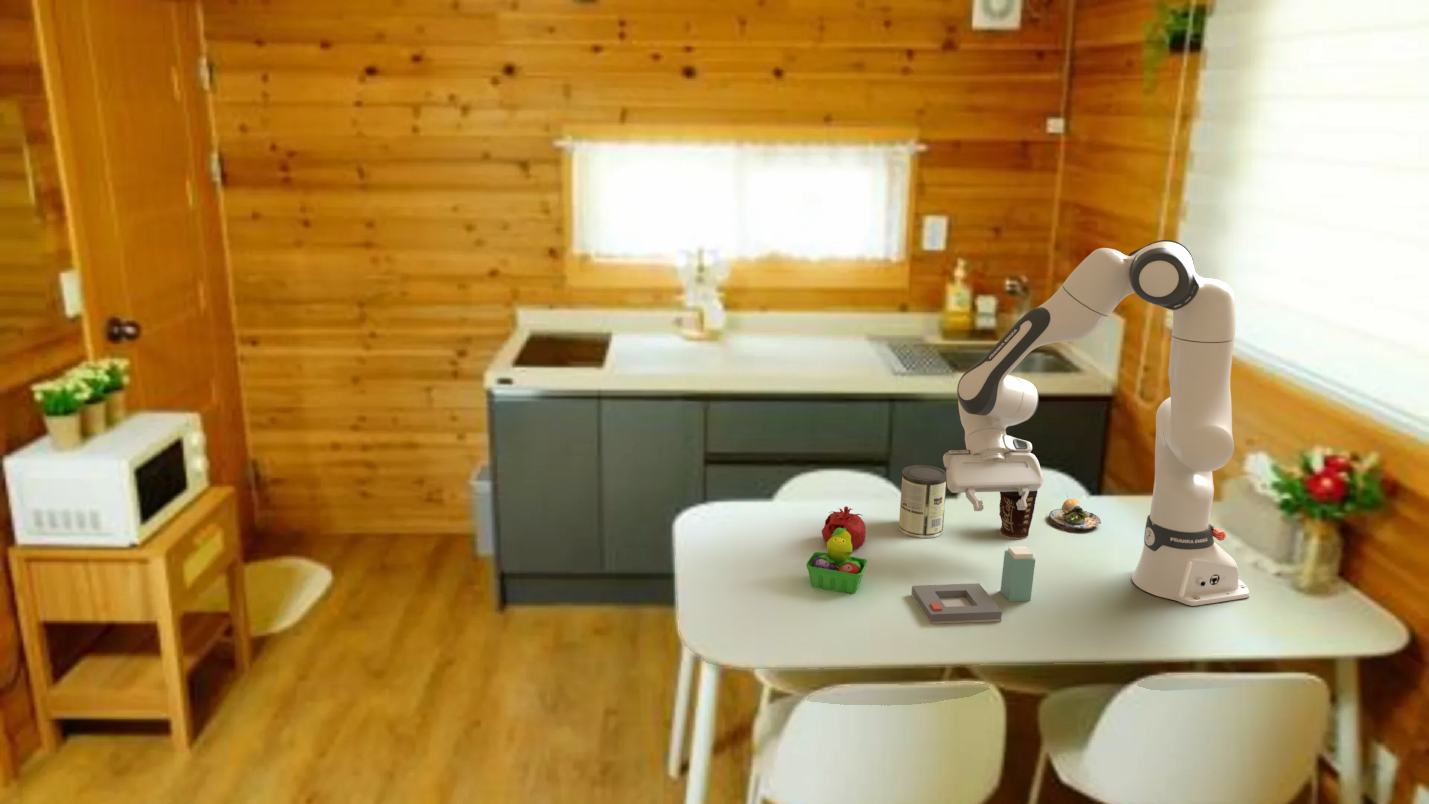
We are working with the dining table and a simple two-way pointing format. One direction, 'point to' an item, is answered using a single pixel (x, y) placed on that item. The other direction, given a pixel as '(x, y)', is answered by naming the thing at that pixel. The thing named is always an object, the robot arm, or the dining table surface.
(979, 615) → the socket plate
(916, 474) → the coffee can
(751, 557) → the dining table surface
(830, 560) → the fruit basket
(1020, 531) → the coffee cup
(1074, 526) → the burger
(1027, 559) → the plug
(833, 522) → the pomegranate
